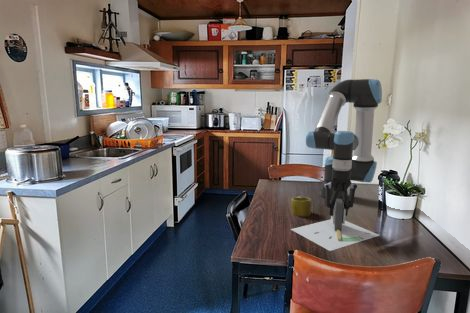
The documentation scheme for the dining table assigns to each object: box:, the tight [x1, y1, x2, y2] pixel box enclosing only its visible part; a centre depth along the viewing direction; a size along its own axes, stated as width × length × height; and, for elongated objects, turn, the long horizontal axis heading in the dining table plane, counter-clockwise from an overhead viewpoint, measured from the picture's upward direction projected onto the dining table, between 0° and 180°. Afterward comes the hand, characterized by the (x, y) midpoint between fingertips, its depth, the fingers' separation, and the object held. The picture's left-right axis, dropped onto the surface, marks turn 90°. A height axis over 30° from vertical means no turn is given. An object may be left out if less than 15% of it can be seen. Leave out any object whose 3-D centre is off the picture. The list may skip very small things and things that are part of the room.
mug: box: [290, 196, 312, 217], centre depth 155 cm, size 12×10×10 cm
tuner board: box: [290, 218, 381, 252], centre depth 133 cm, size 28×22×1 cm
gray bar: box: [334, 199, 344, 240], centre depth 133 cm, size 18×3×11 cm, turn 166°
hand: (337, 222), depth 138 cm, fingers closed on gray bar, 4 cm apart
